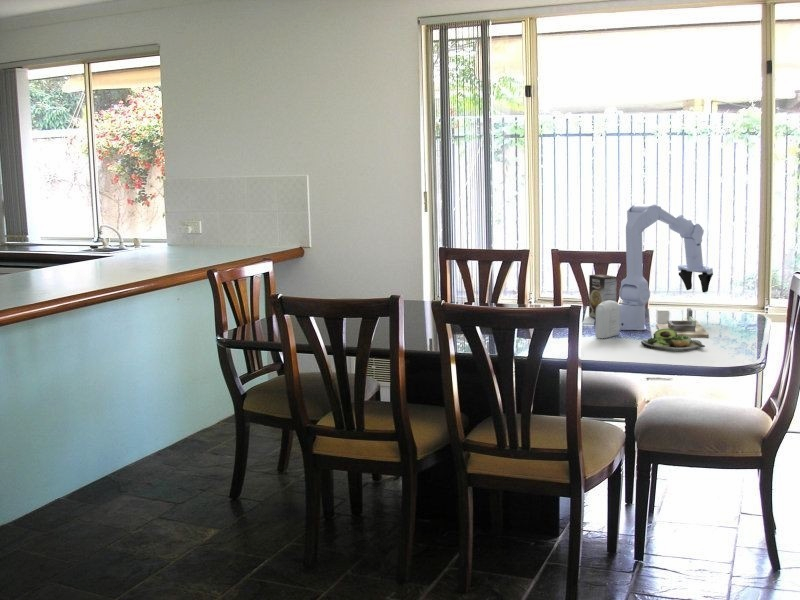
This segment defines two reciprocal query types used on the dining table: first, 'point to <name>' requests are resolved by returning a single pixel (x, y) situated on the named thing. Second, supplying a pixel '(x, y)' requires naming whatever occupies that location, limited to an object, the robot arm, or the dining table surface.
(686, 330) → the beige board
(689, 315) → the gate
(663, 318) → the white cube block
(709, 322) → the dining table surface
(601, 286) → the coffee box
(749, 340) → the dining table surface
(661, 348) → the salad plate
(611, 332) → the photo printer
